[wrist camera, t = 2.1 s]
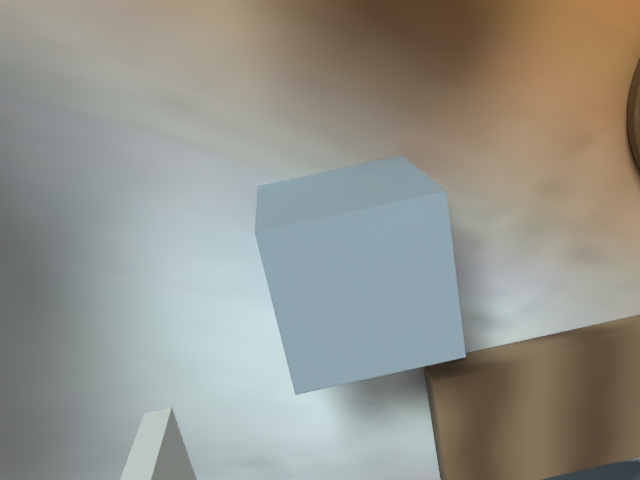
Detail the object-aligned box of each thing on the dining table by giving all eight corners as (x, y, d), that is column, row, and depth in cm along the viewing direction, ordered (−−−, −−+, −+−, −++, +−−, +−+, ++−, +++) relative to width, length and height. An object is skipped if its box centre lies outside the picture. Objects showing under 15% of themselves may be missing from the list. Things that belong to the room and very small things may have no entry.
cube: (288, 314, 29) (295, 394, 22) (257, 185, 26) (255, 232, 20) (420, 286, 29) (466, 357, 22) (401, 155, 26) (446, 191, 20)
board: (440, 476, 33) (449, 500, 31) (423, 362, 30) (432, 381, 28) (699, 418, 33) (722, 438, 32) (705, 300, 31) (731, 315, 29)
